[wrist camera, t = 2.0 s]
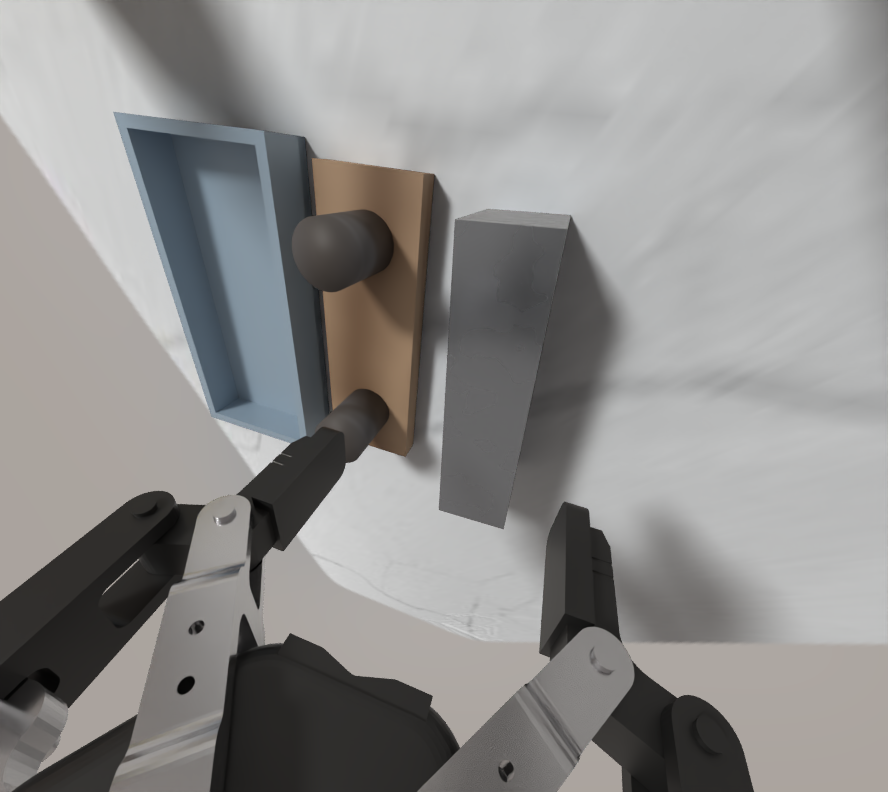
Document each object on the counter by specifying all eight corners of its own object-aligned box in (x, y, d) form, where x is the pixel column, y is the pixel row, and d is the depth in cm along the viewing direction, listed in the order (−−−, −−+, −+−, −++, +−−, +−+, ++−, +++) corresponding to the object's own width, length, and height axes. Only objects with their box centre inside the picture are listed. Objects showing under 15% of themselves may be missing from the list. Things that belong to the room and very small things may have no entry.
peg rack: (434, 174, 18) (385, 172, 13) (412, 444, 27) (380, 495, 23) (329, 159, 19) (251, 153, 14) (344, 423, 29) (302, 468, 24)
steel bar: (571, 214, 17) (567, 228, 12) (518, 462, 25) (503, 529, 21) (489, 208, 18) (454, 219, 13) (464, 449, 26) (438, 509, 22)
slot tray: (304, 137, 19) (263, 130, 16) (330, 426, 29) (308, 449, 27) (168, 119, 20) (113, 111, 18) (240, 398, 31) (211, 416, 29)
